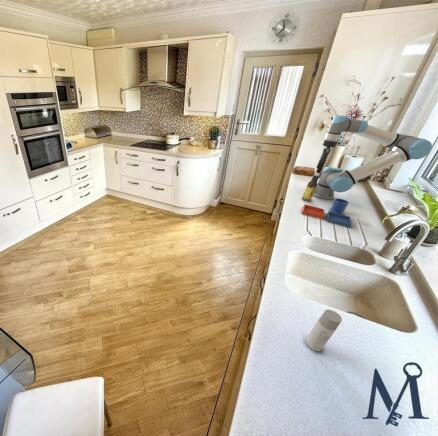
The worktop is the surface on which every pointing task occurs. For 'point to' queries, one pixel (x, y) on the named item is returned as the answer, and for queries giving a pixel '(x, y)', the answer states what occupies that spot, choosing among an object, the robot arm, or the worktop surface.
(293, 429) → the worktop surface
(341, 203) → the blue cup
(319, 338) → the container
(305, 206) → the red tray
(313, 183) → the sauce bottle
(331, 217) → the blue tray
